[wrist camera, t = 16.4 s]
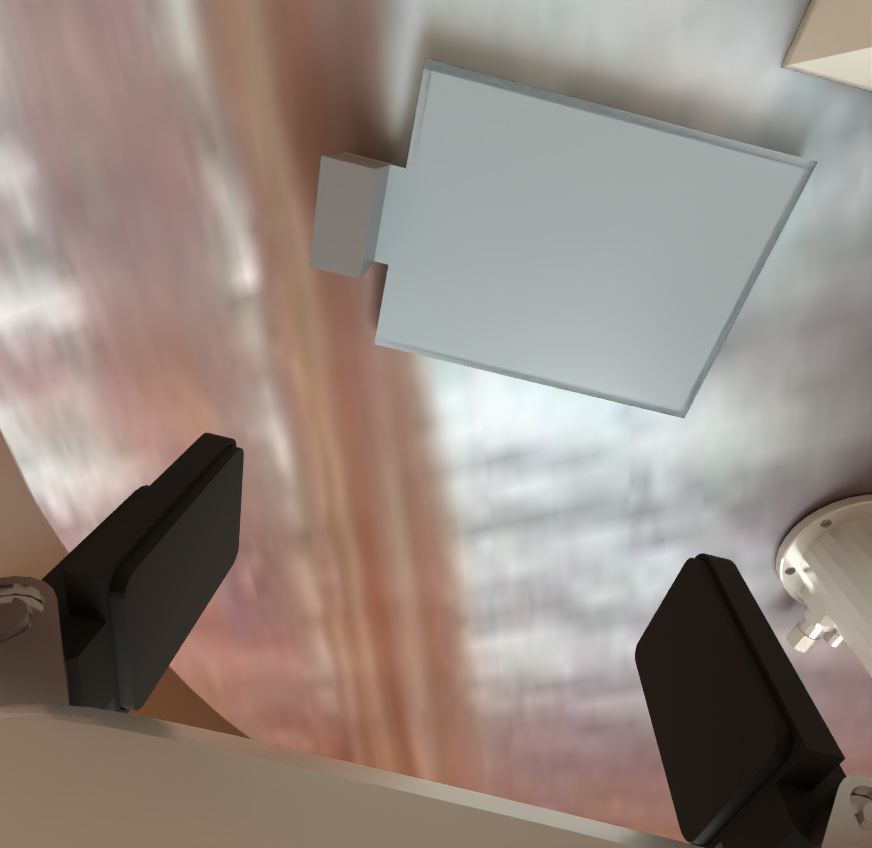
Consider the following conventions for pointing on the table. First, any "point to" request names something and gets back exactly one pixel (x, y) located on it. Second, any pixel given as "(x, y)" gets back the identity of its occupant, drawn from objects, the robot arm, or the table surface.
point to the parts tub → (835, 42)
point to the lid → (558, 237)
